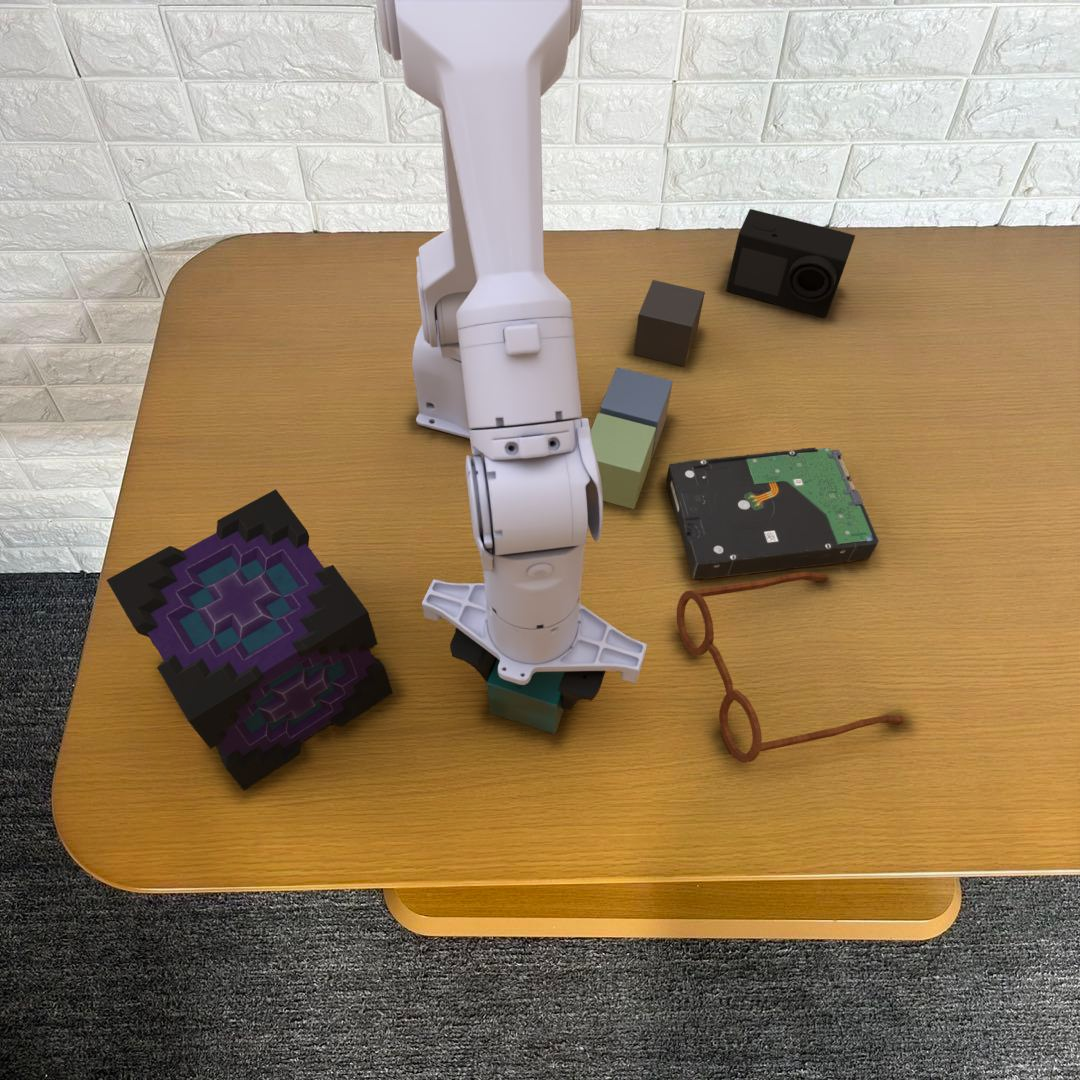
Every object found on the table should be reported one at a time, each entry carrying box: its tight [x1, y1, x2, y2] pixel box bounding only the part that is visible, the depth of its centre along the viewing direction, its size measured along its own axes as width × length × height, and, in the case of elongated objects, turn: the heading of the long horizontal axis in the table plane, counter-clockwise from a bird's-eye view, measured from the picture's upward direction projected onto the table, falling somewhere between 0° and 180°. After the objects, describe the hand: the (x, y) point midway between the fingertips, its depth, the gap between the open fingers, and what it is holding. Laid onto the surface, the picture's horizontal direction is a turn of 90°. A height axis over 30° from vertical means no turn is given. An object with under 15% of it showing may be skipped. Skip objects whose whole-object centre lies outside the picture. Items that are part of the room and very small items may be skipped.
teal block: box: [486, 658, 565, 735], centre depth 64 cm, size 5×5×5 cm
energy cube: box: [106, 489, 394, 791], centre depth 61 cm, size 12×12×12 cm
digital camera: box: [725, 208, 856, 319], centre depth 87 cm, size 10×5×7 cm, turn 67°
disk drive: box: [665, 447, 880, 580], centre depth 73 cm, size 10×3×15 cm
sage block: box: [590, 412, 656, 510], centre depth 75 cm, size 5×5×5 cm
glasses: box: [676, 571, 906, 764], centre depth 65 cm, size 13×13×5 cm
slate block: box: [599, 366, 674, 461], centre depth 78 cm, size 5×5×5 cm
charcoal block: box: [633, 279, 706, 368], centre depth 84 cm, size 5×5×5 cm
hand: (532, 685), depth 64 cm, fingers closed on teal block, 5 cm apart
